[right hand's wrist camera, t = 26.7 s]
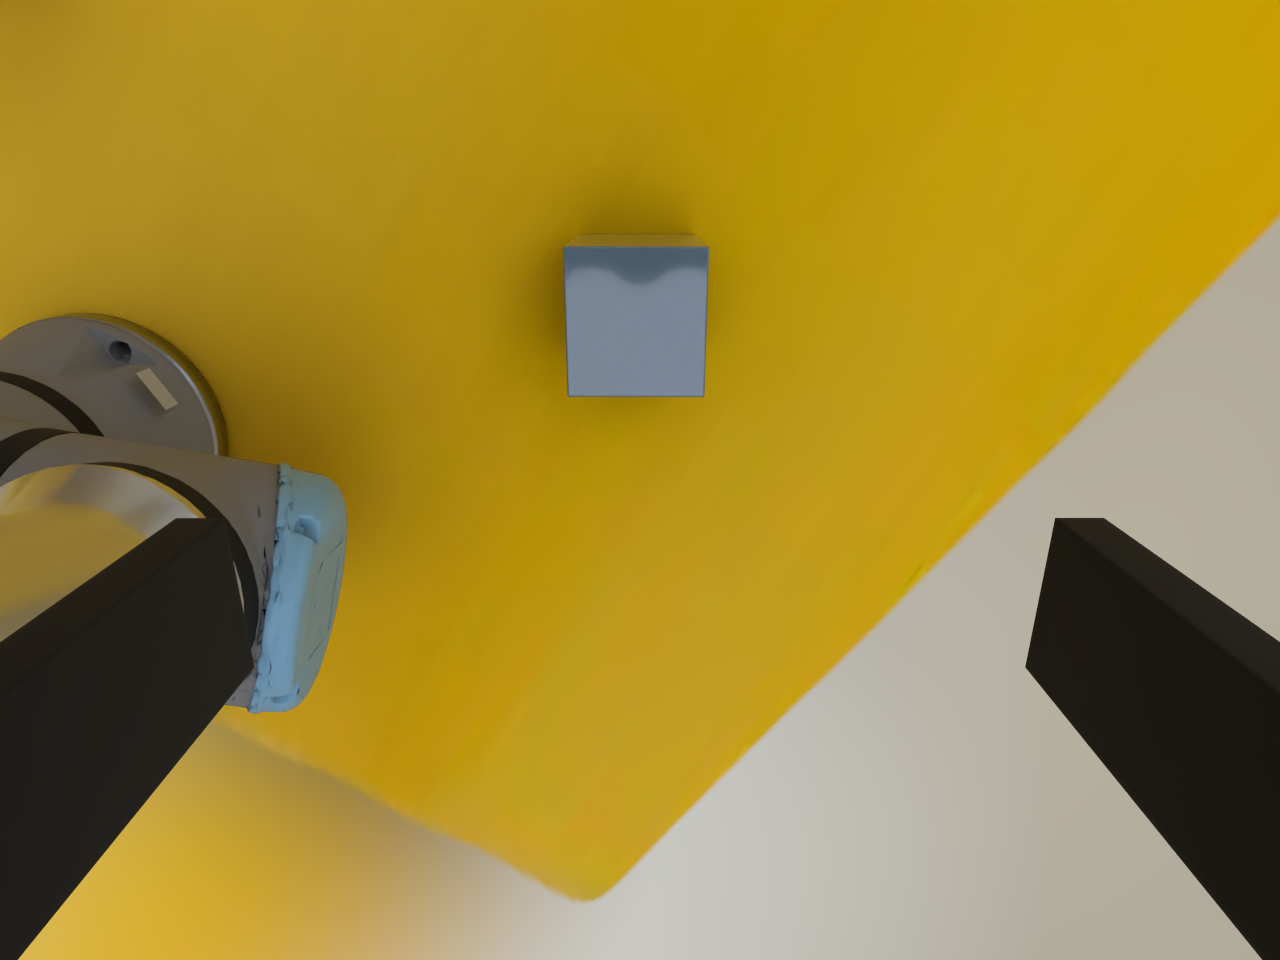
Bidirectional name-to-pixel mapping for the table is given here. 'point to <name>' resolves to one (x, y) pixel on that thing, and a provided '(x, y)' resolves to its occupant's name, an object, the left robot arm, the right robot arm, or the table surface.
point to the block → (635, 315)
